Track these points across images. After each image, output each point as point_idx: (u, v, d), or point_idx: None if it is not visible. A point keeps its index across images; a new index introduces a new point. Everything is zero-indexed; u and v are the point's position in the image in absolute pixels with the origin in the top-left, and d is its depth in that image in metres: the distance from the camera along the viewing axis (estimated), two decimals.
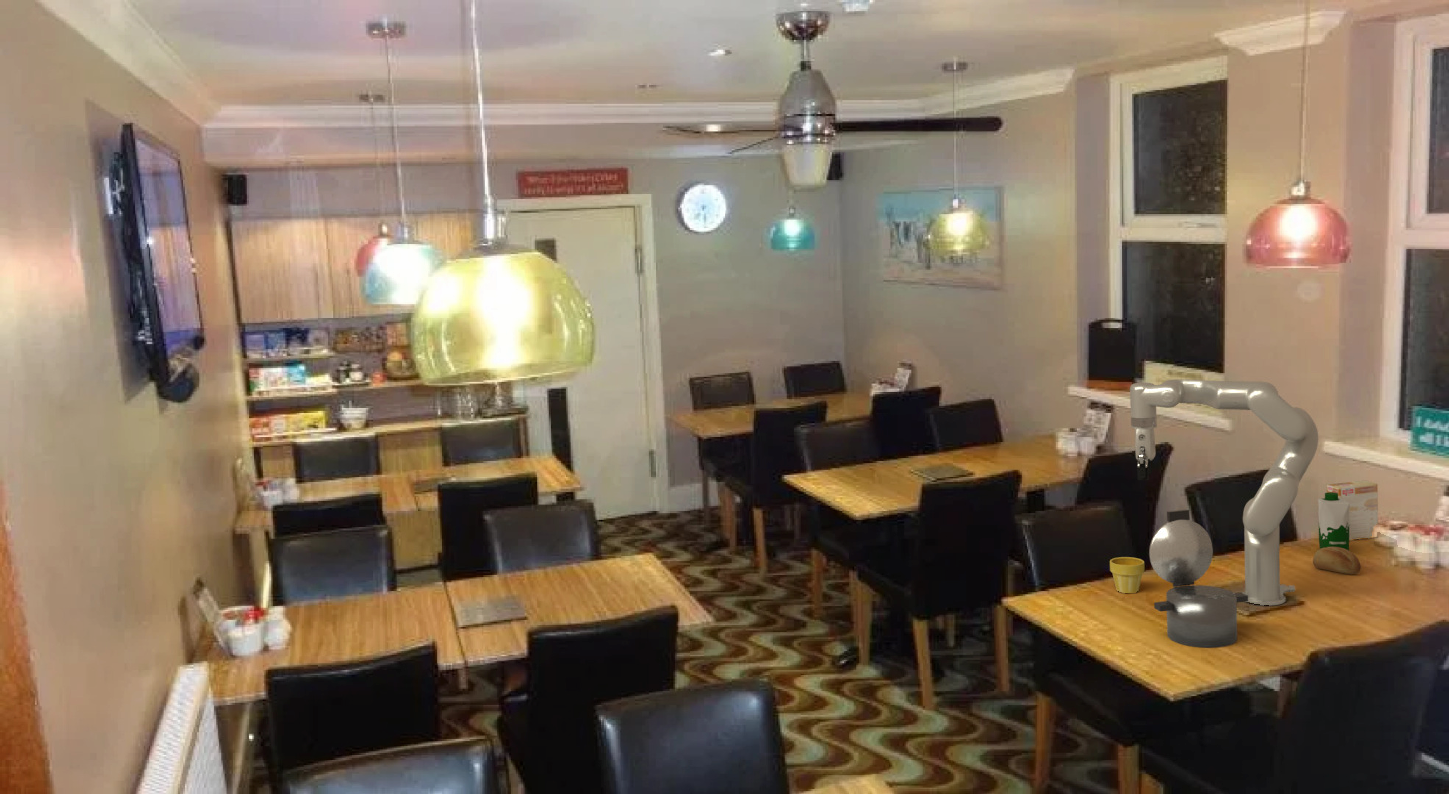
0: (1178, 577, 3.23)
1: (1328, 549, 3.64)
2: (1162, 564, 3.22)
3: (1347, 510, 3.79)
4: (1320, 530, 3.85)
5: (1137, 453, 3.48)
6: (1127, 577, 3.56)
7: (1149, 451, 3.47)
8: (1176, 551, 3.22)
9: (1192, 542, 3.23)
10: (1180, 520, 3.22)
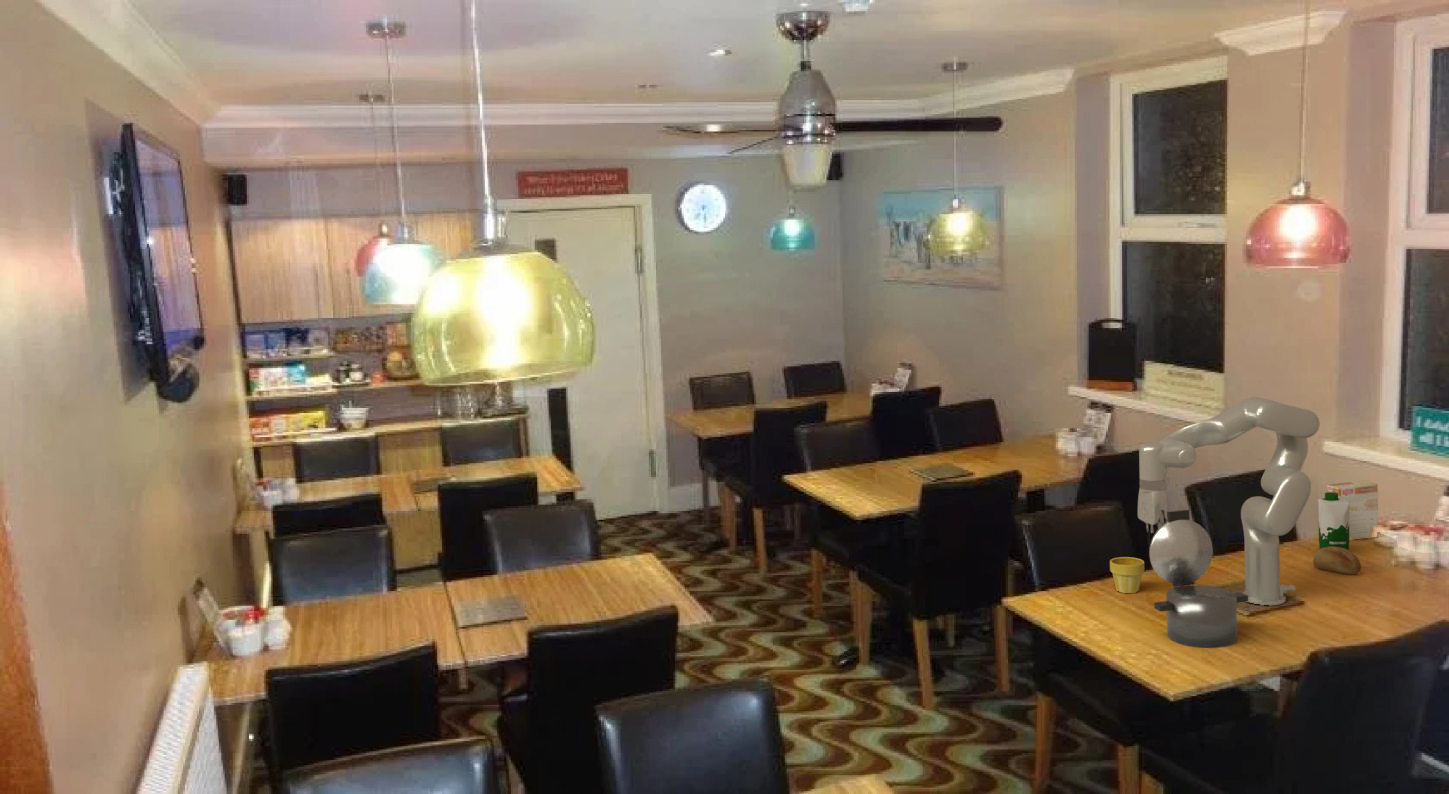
0: (1178, 577, 3.23)
1: (1328, 549, 3.64)
2: (1162, 564, 3.22)
3: (1347, 510, 3.79)
4: (1320, 530, 3.85)
5: None
6: (1127, 577, 3.56)
7: None
8: (1176, 551, 3.22)
9: (1192, 542, 3.23)
10: (1180, 520, 3.22)
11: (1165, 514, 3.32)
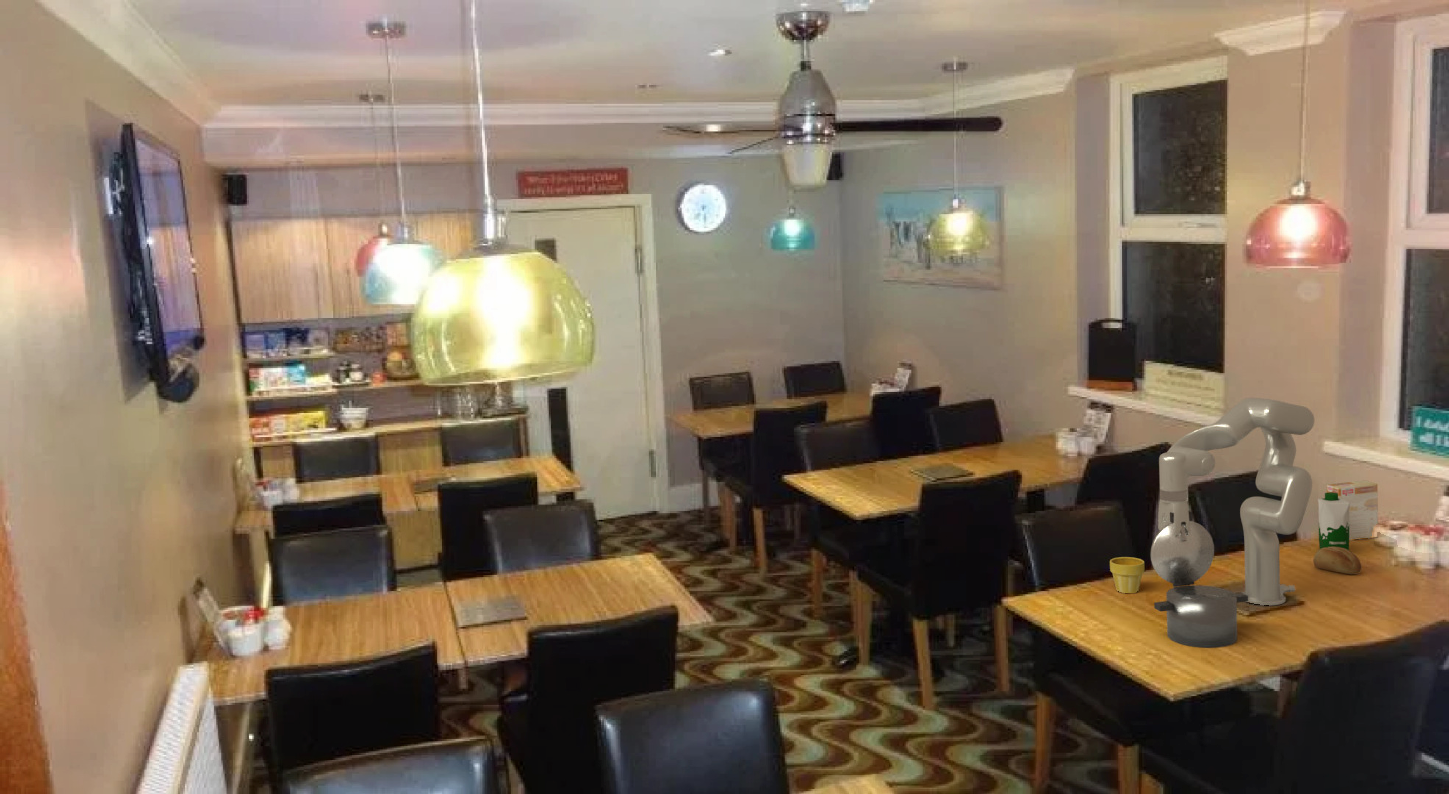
0: (1178, 578, 3.23)
1: (1328, 549, 3.64)
2: (1162, 564, 3.22)
3: (1347, 510, 3.79)
4: (1320, 530, 3.85)
5: None
6: (1127, 577, 3.56)
7: None
8: (1177, 552, 3.22)
9: (1194, 543, 3.22)
10: None
11: (1187, 526, 3.21)
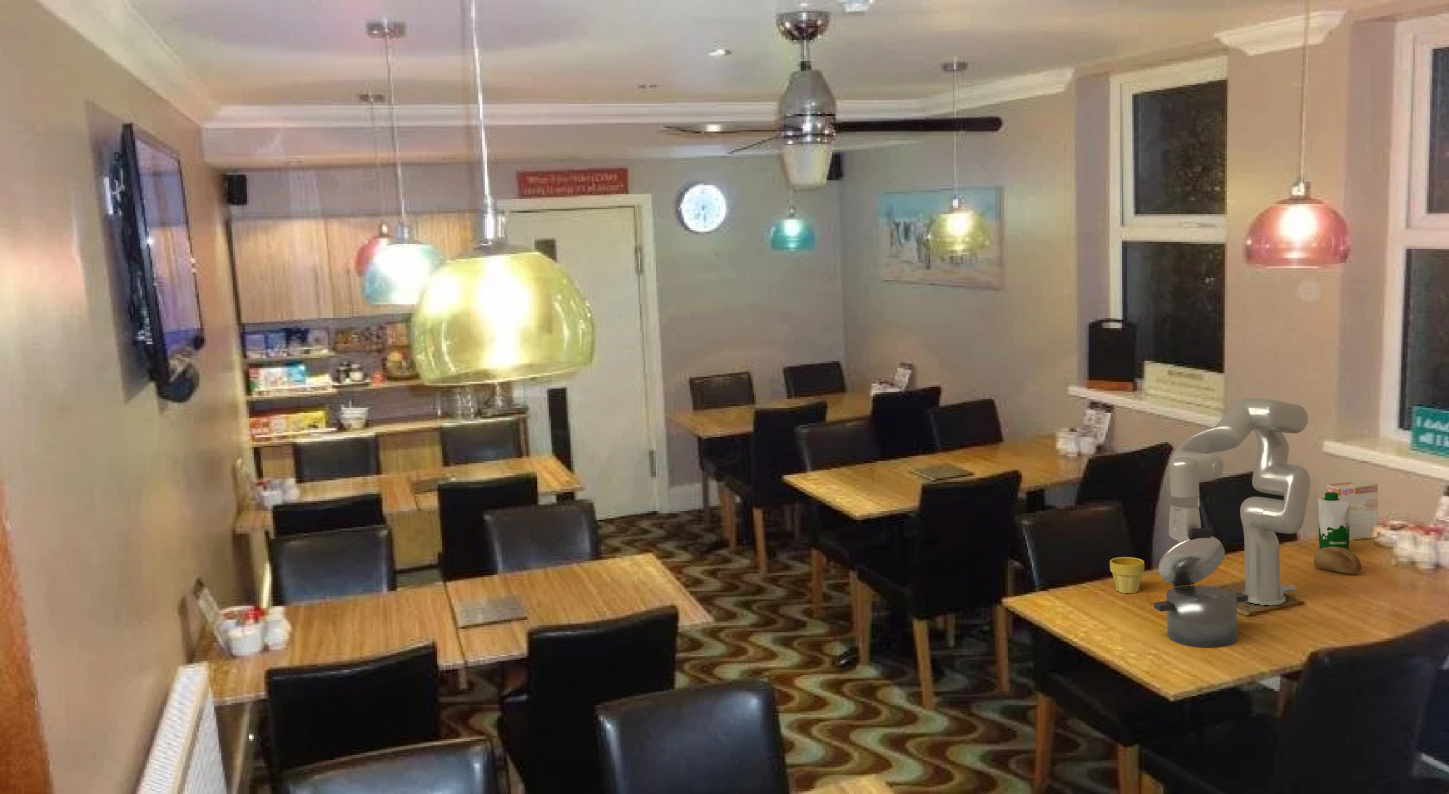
0: (1180, 580, 3.22)
1: (1329, 549, 3.64)
2: (1168, 571, 3.18)
3: (1347, 510, 3.79)
4: (1320, 530, 3.85)
5: None
6: (1127, 577, 3.56)
7: None
8: (1186, 562, 3.17)
9: (1205, 555, 3.17)
10: (1201, 538, 3.12)
11: None
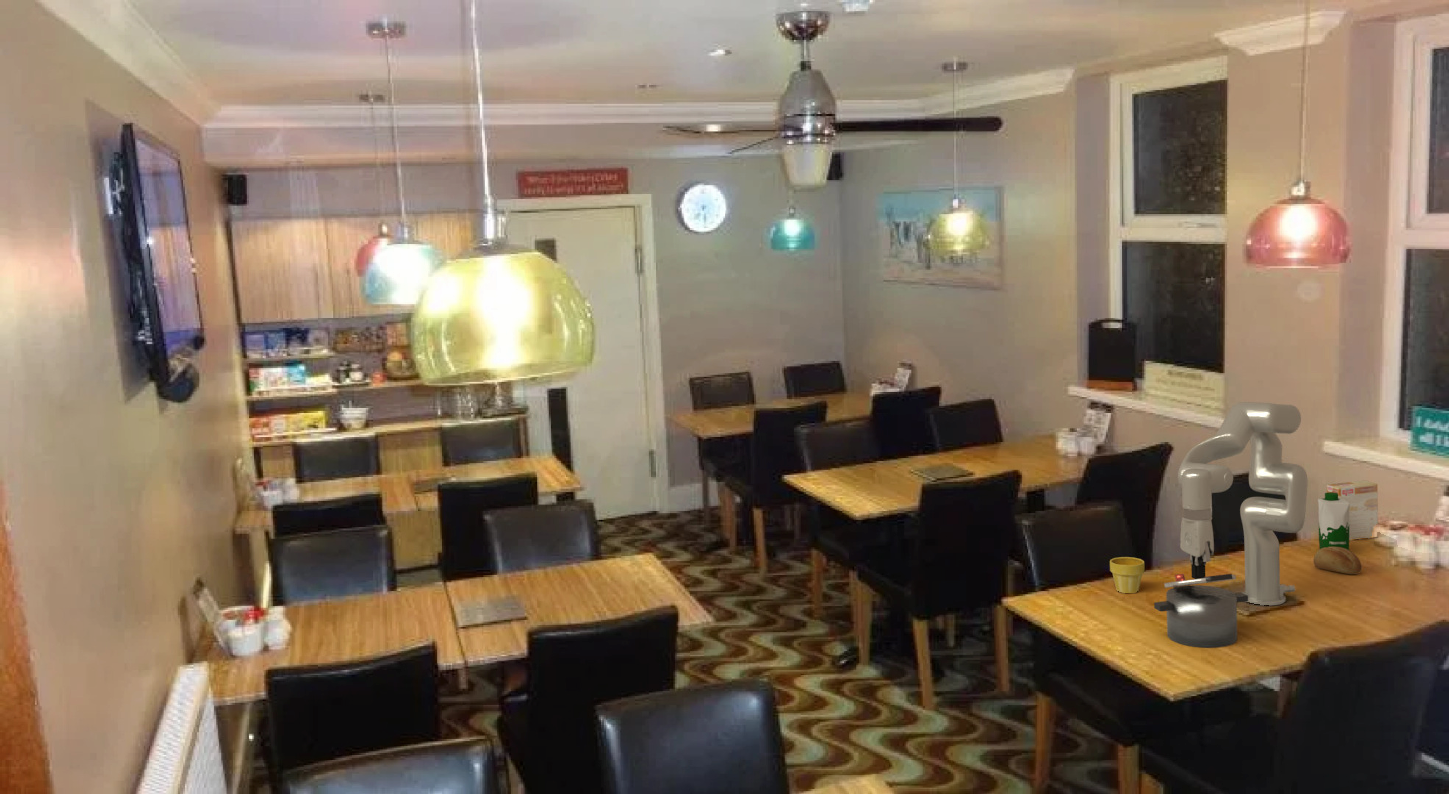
0: None
1: (1329, 549, 3.64)
2: (1173, 586, 3.16)
3: (1347, 510, 3.79)
4: (1320, 530, 3.85)
5: None
6: (1127, 577, 3.56)
7: None
8: None
9: None
10: None
11: (1211, 545, 3.09)
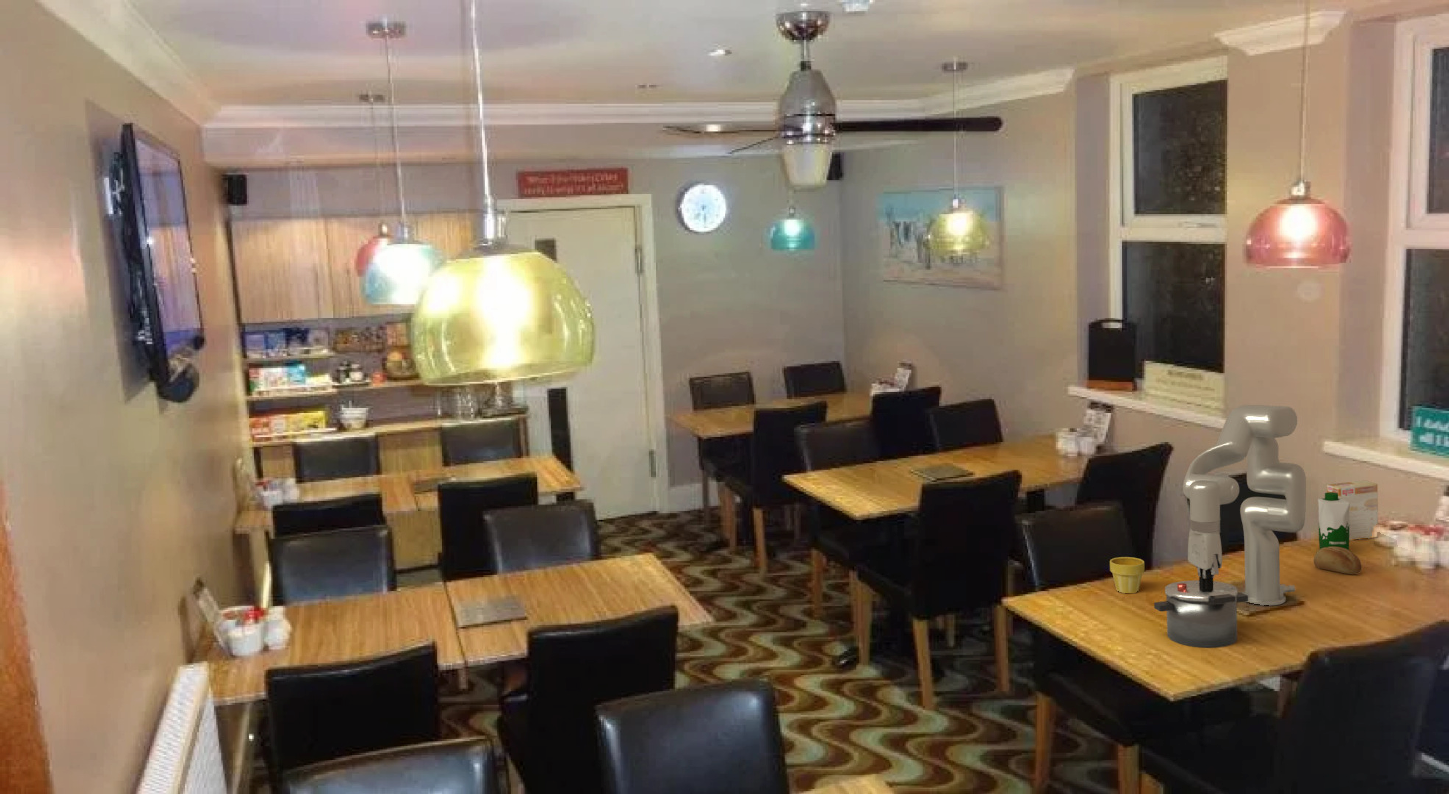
0: None
1: (1329, 549, 3.64)
2: None
3: (1347, 510, 3.79)
4: (1320, 530, 3.85)
5: None
6: (1127, 577, 3.56)
7: None
8: None
9: None
10: None
11: (1219, 558, 3.05)
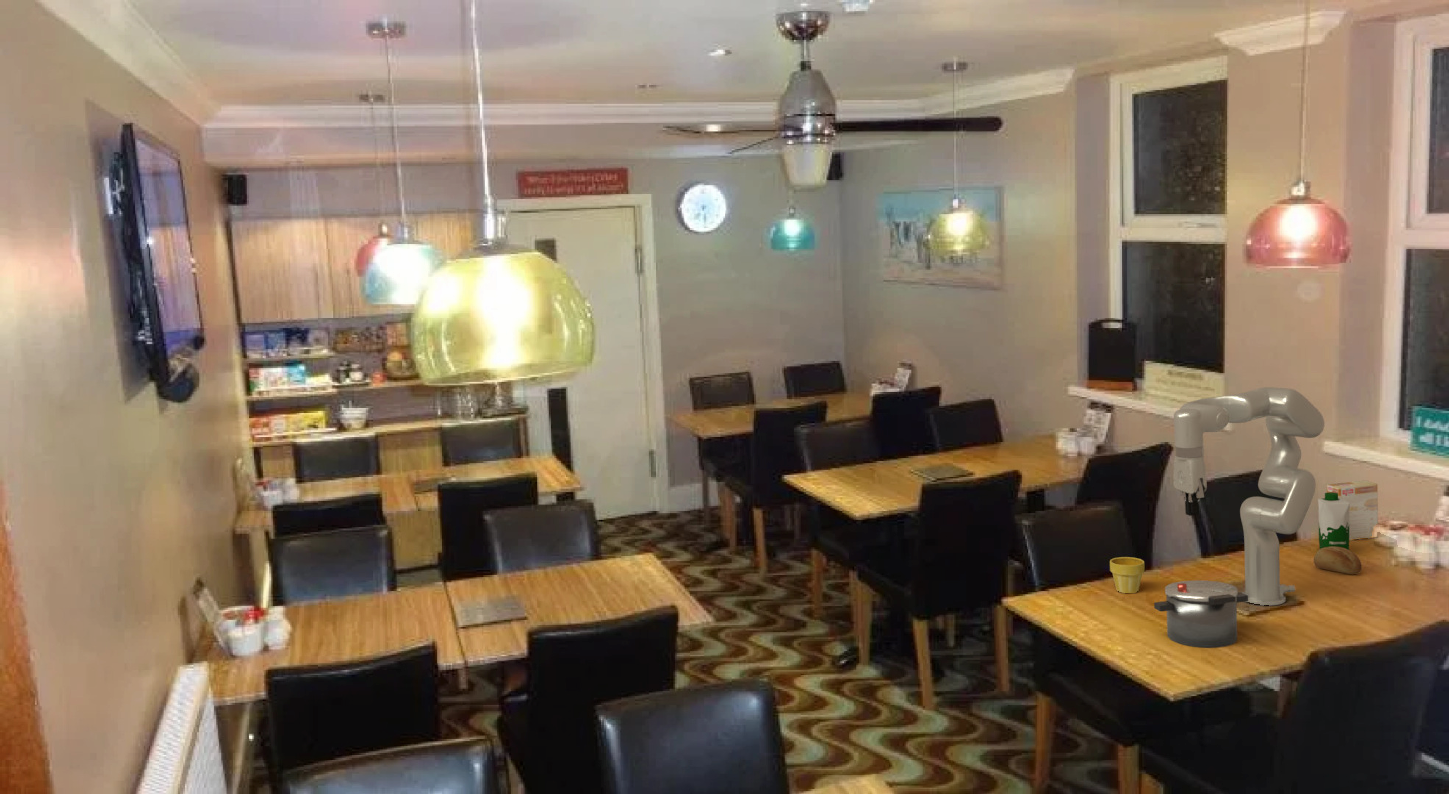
0: None
1: (1329, 549, 3.64)
2: None
3: (1347, 510, 3.79)
4: (1320, 530, 3.85)
5: None
6: (1127, 577, 3.56)
7: None
8: None
9: None
10: None
11: (1204, 482, 3.20)
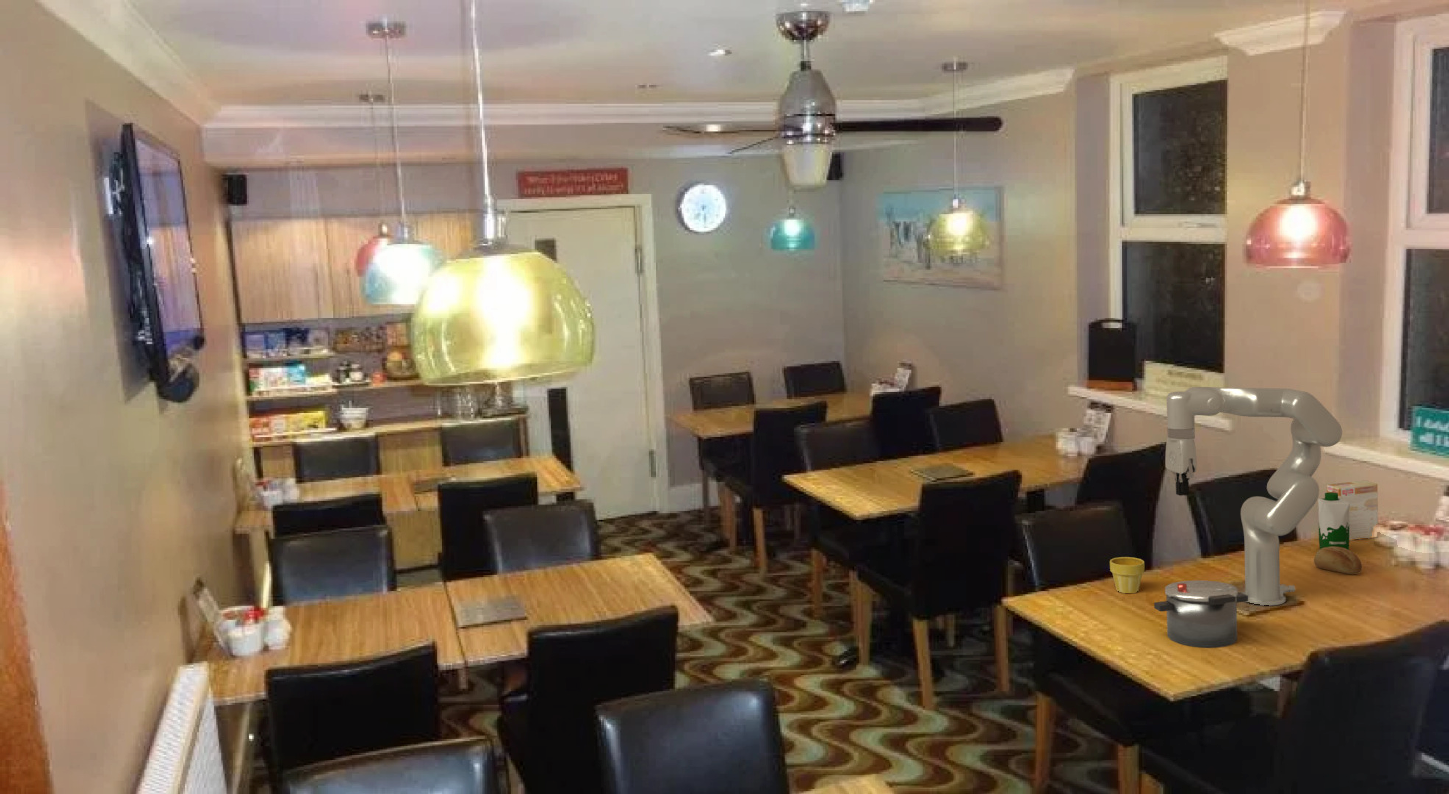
0: None
1: (1329, 549, 3.64)
2: None
3: (1347, 510, 3.79)
4: (1320, 530, 3.85)
5: None
6: (1127, 577, 3.56)
7: None
8: None
9: None
10: None
11: (1194, 462, 3.29)
